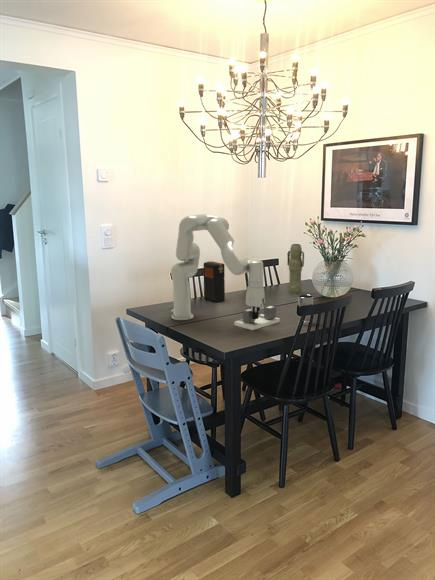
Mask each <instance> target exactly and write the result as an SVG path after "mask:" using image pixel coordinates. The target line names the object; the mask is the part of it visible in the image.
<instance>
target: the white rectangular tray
mask: <svg viewBox="0 0 435 580" xmlns="http://www.w3.org/2000/svg"><path fill="white" fill-rule="evenodd" d="M280 319H281V318H280V317H276V318H274V319H270V320H269V319H265V318H264V314H262V313H261V314H259V318H258V319H255V321H254V322H251V323H246V322H243V318H242V319H239V320H235V321H234V323H233V324H234V325H233V326H236V327H239V328H243V329H247V330H250V331H254V330H258V329H260V328H261V329H262V328H264V327H267V326H271V325H274V324H277V323H280Z"/></svg>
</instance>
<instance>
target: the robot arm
mask: <svg viewBox="0 0 435 580" xmlns="http://www.w3.org/2000/svg"><path fill="white" fill-rule="evenodd" d="M229 229H230V224H229V222H228V220H227V219H226V218H224V217H220V216H216V215H215V216H214V215H211V214H210V215H209V214H205V213H204V214H191V215H188V216H185V217H184V218H182V219H181V220H180V222H179V225H178V234H177V235H178V237H177V242H176V250H175V258H176V259H177V260H179V261H181V262H177V263H175V264H174V265H173V266H172V268H171V270H170V275H171V279H172V289H173V291H172V293H173V295H172V296H173V308H172V309H171V310H170V312H172V313H173V314H171V316H170V317H171V319H172V320H174V321H188V320H192V319H194V314H193V313H192V312H191V311H192V310H191V284H190V282H189V279H190V278H192V277H194V276H196V274H197V272H198V270H199V264H200V263H199V262H200V255H201V250H200V247H199V245H198V244H197V243H195V242H194V232H197V231H207V232H208V233H209V234H210V236H211V237H212V239H213V240H214V242H215V243H216V245H217V246H218V247H219V249H220V254H221V258H222V260H223V264H224V265H225V267H227V269H228V271H230V273H232V275H234V276H241V275H244V274H248V276H247V277H248V281H247V284H248V286H247V287H246V291H245V305H247V307H249V309H251V311H252V319H258V318H259V315H260V314H259V313H260V311H261V310H264V307H265V305H266V297H265V296H266V293H265V287H264V262H263V261H262V260H261V259H260V260H259V259H256V260H255V259H254V260H253V259H249V258H242V259H239V258H238V257H237V256H236V254H235V252H234V249H233V248H234V247H233V245H234V242H235V240H234V238H233V236H232V235H231V234H230V232H229Z"/></svg>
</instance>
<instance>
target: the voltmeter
mask: <svg viewBox="0 0 435 580" xmlns="http://www.w3.org/2000/svg"><path fill="white" fill-rule="evenodd" d="M225 277H226V276H225V263H221V262H217V261H210V260H209V261H205V262H204V263H203V297H204V299H206V300H209V301H212V302H215V303H218V302H225V300H226V297H225V296H226V295H225V293H226V291H225V289H226V288H225V286H226V285H225V282H226V281H225Z"/></svg>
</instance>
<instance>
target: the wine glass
mask: <svg viewBox="0 0 435 580" xmlns="http://www.w3.org/2000/svg"><path fill="white" fill-rule="evenodd" d="M297 302H298V306H299V305H309V304H312V305H313V303H314V295H312V294H301V295H298V296H297ZM306 319H307V316H306V317H305V321H304V320H303V321H304V323H306V322H307V320H306ZM299 322H300V321H298V322H297V323H298V324H299ZM308 322H309V321H308ZM308 322H307V323H308Z"/></svg>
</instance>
